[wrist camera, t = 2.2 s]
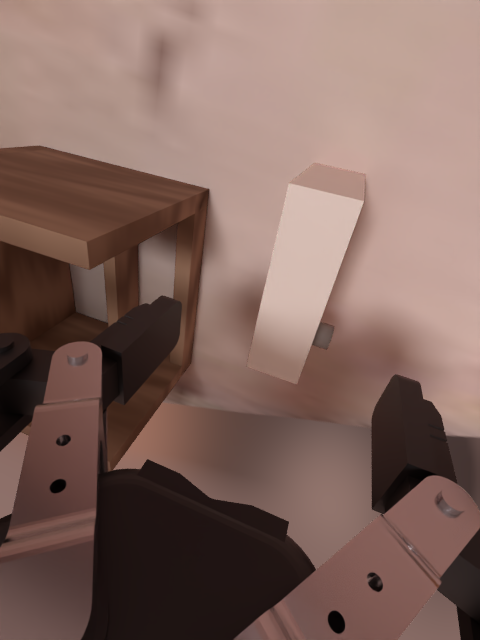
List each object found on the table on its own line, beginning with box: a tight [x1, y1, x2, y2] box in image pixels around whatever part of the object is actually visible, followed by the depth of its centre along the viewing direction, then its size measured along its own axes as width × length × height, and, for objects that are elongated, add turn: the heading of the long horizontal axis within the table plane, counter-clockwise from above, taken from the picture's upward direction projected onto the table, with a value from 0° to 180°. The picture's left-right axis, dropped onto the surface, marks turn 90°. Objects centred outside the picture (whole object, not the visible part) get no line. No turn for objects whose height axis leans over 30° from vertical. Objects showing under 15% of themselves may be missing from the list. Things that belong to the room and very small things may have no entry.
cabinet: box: [0, 146, 209, 471], centre depth 23 cm, size 16×14×12 cm
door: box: [246, 163, 365, 385], centre depth 19 cm, size 10×4×8 cm, turn 170°
